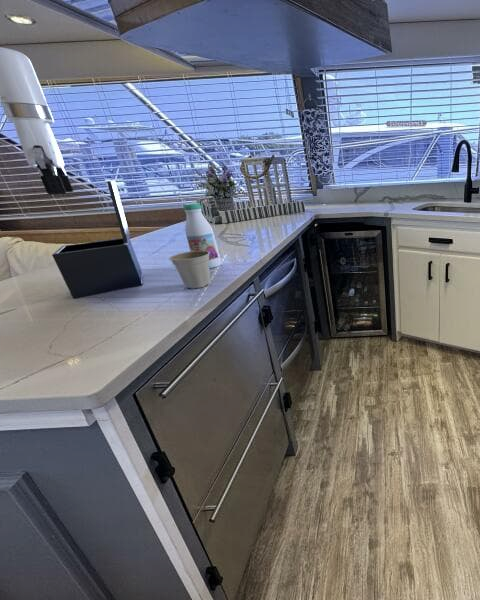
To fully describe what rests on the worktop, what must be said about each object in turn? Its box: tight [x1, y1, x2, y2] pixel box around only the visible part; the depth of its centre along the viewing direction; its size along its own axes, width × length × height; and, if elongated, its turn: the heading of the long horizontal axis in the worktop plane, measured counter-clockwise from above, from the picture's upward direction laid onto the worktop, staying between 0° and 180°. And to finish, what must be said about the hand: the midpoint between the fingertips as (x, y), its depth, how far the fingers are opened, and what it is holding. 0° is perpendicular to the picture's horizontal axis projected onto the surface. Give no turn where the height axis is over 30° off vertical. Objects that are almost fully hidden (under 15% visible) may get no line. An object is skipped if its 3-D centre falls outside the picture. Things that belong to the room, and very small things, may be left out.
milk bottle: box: [182, 202, 222, 269], centre depth 102 cm, size 8×8×20 cm
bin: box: [51, 237, 144, 300], centre depth 89 cm, size 15×13×12 cm
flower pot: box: [168, 251, 212, 289], centre depth 87 cm, size 9×9×9 cm
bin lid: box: [106, 180, 131, 243], centre depth 88 cm, size 15×13×1 cm
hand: (61, 193), depth 81 cm, fingers open, 9 cm apart
